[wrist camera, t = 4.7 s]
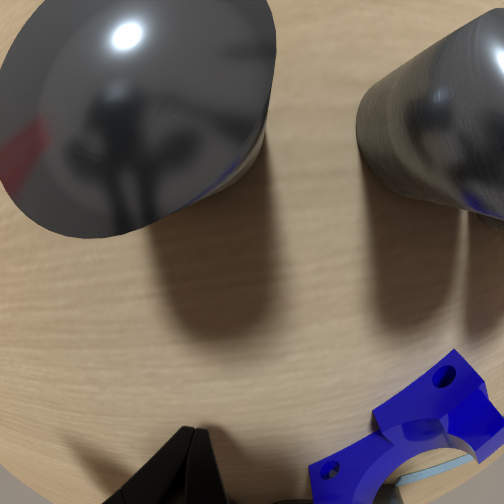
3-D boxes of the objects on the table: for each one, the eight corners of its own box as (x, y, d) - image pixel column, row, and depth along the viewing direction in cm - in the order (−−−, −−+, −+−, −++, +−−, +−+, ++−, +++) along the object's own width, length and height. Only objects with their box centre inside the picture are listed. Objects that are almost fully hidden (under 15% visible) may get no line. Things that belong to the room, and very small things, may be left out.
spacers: (524, 130, 6) (619, 132, 1) (382, 506, 12) (397, 557, 7) (140, 57, 6) (35, -29, 2) (182, 512, 12) (170, 570, 8)
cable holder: (451, 345, 9) (506, 407, 5) (467, 386, 9) (507, 439, 6) (289, 450, 10) (295, 526, 6) (328, 474, 11) (340, 537, 7)
